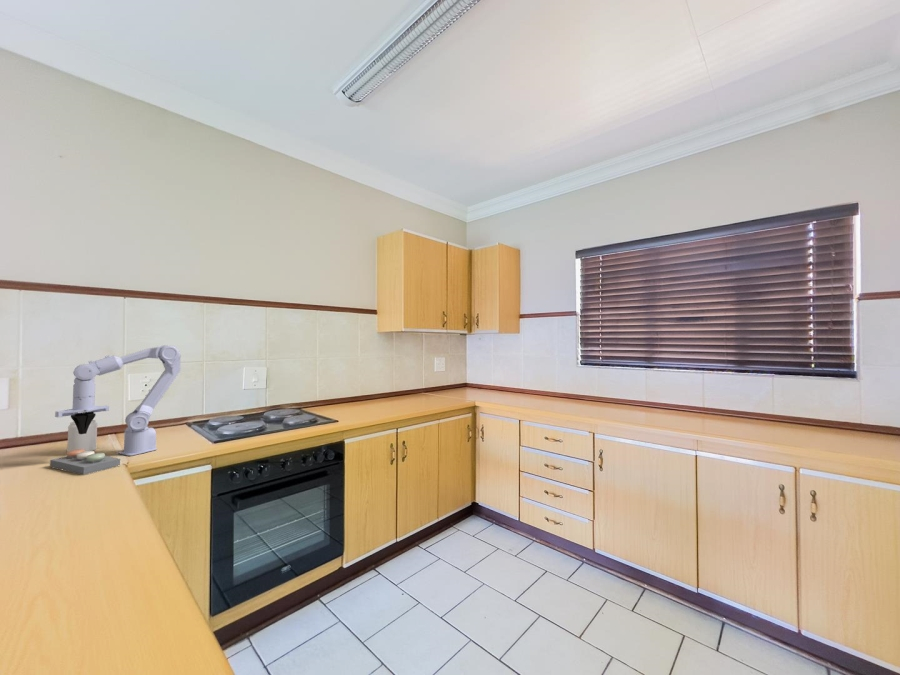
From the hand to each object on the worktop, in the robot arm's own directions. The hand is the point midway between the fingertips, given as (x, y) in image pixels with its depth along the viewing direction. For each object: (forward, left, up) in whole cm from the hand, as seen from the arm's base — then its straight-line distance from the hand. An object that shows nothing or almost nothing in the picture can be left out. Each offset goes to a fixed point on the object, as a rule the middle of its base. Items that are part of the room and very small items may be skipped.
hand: (82, 433), depth 134 cm
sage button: (+3, +15, -9) cm, 18 cm away
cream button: (+3, +9, -9) cm, 13 cm away
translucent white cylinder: (-6, -13, -10) cm, 18 cm away
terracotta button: (+3, +3, -9) cm, 10 cm away
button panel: (+3, +9, -10) cm, 14 cm away
